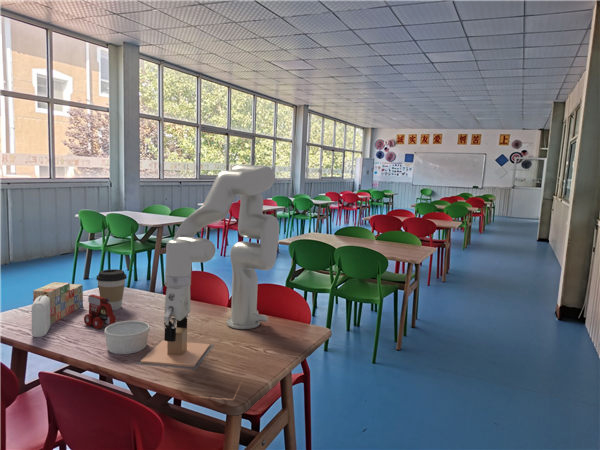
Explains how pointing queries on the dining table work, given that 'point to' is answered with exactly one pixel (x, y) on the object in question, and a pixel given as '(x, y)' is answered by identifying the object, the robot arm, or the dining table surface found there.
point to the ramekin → (127, 336)
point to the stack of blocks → (61, 298)
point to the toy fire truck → (99, 312)
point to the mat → (176, 366)
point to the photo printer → (40, 316)
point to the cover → (176, 351)
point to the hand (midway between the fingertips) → (176, 335)
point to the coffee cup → (112, 286)
